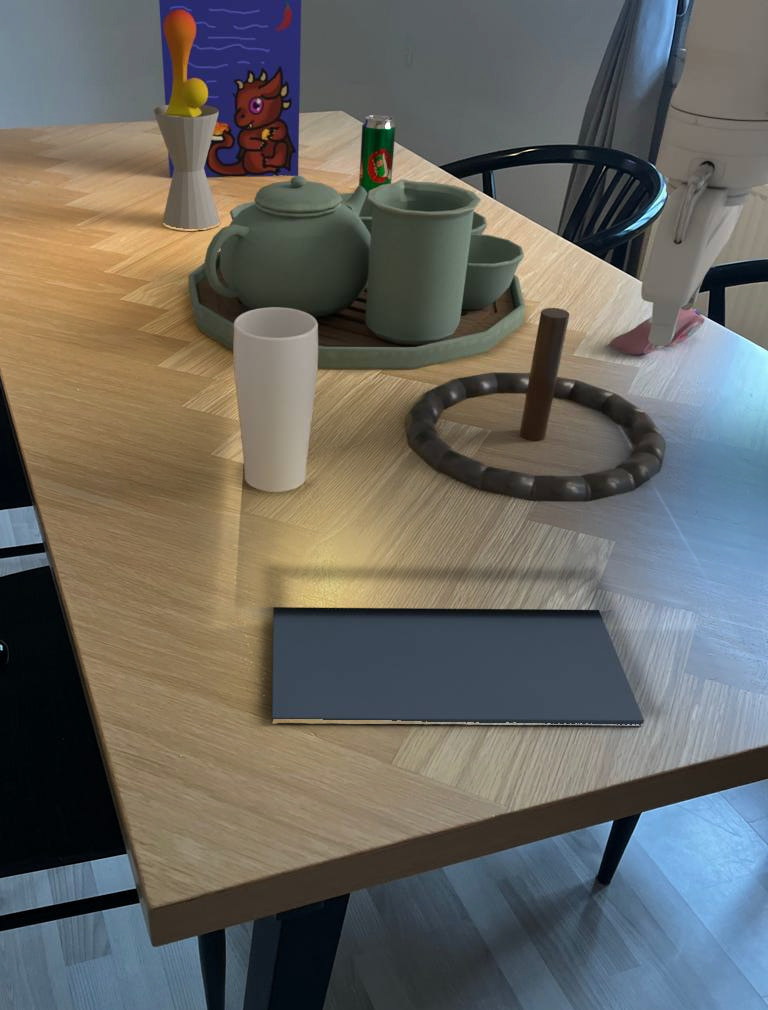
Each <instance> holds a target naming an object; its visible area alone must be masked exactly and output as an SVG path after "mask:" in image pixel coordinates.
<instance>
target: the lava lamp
mask: <svg viewBox="0 0 768 1010" xmlns="http://www.w3.org/2000/svg"><path fill="white" fill-rule="evenodd" d="M164 33H165V37H166V40H167V43H168V46H169V49H170V54H171V59H172V63H173V87H172V95H171V99H170V102H169V105H165V104H164V105H161V106H157V107H156V108H154V109H153V113H154V117H155V119H156V123H157V126H158V127H159V131H160V134H161V136H162V139H163V141H164V144H165V147H166V149H167V152H169V155H170V158H171V161H172V163H173V166H174V172H173V176H172V178H171V181H170V186H169V189H168V190H169V191H168V194H167V200H166V204H165V209H164V213H163V217H162V222H163V223H165V224H166V225H169V226H171V227H176V228H183V229H203V228H208V227H211V226H215V225H217V224H218V223H219V222H221V219H220V217H219V213H218V209H217V206H216V203H215V200H214V197H213V193H212V191H211V187H210V184H209V181H208V177H206V174H205V171H204V166H205V162H206V158H207V154H208V151H209V147H210V143H211V140H212V136H213V132H214V129H215V125H216V121H217V117H218V113H219V110H218V109H217V108H215V107H212V106H208V105H204V104H205V102H206V101H207V98H208V89H207V86H206V84H205V83H204V82H203V81H202V80H200V79H198V78H191V79H189V80H187V63H188V59H189V54H190V50H191V47H192V44H193V41H194V38H195V35H196V24H195V21H194V19H193V17H192V16H191V15H190V14H189V13H188V12H186V11H184V10H180V9H178V10H174V11H172V12H170V13H169V14H168V15H167V17H166V19H165V22H164ZM163 223H162V224H163Z"/></svg>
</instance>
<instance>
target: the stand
mask: <svg viewBox="0 0 768 1010" xmlns="http://www.w3.org/2000/svg"><path fill="white" fill-rule="evenodd" d="M569 318H570V313H569V312H568V311H567V310H565V309H563V308H558V307H546V308H543V309H542V310H541V311H540V316H539V321H538V326H537V332H536V339H535V344H534V349H533V355H532V359H531V360H532V361H531V366H530V372H529V373H530V376H529V382H528V388H527V393H525V399H524V405H523V410H522V416H521V422H520V427H519V433H518V434H519V435H518V436H519V437H520V438H521V439H522V440H525V441H528V442H533V443H534V442H541V441H543V440H545V439H546V435H547V431H548V425H549V420H550V414H551V410H552V405H553V400H554V397H553V395H554V390H555V385H556V380H557V377H558V376H559V375H558V374H559V370H560V365H561V360H562V354H563V349H564V343H565V340H566V339H565V338H566V334H567V329H568V324H569V320H570V319H569Z"/></svg>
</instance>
